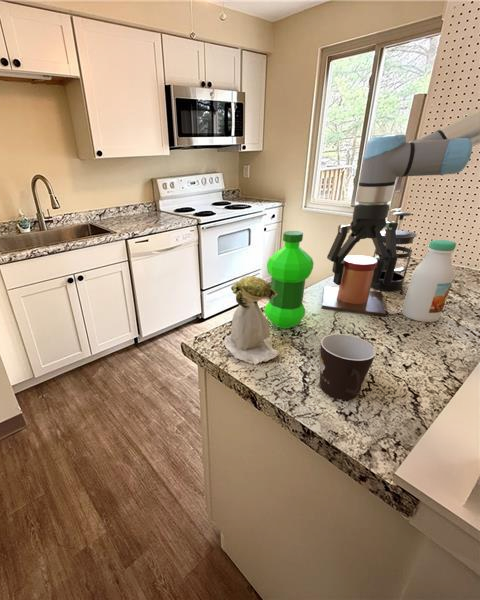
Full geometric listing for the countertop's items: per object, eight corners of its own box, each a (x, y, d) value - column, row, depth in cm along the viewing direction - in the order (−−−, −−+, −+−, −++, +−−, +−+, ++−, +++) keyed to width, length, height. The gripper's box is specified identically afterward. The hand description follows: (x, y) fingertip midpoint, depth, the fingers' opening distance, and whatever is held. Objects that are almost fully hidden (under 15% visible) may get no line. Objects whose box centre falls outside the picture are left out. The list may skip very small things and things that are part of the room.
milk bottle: (412, 323, 79) (436, 247, 70) (394, 309, 86) (414, 238, 77) (446, 322, 77) (475, 245, 69) (426, 308, 84) (449, 236, 76)
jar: (366, 294, 93) (375, 258, 88) (368, 305, 87) (377, 267, 82) (337, 291, 96) (343, 256, 91) (336, 301, 91) (343, 264, 86)
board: (380, 294, 94) (381, 291, 94) (385, 317, 83) (386, 313, 82) (324, 288, 101) (324, 286, 101) (321, 308, 90) (321, 305, 89)
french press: (366, 277, 106) (382, 209, 96) (401, 281, 101) (421, 209, 91) (366, 290, 97) (382, 216, 87) (404, 295, 92) (426, 217, 82)
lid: (336, 262, 91) (337, 256, 90) (364, 259, 91) (365, 254, 90) (352, 271, 84) (354, 265, 83) (383, 268, 83) (385, 262, 83)
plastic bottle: (276, 311, 91) (285, 226, 80) (312, 323, 83) (326, 231, 72) (255, 322, 86) (261, 234, 75) (290, 337, 78) (302, 240, 67)
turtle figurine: (228, 364, 71) (230, 292, 63) (221, 334, 82) (222, 270, 74) (282, 364, 69) (291, 289, 61) (267, 333, 81) (273, 267, 73)
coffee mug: (319, 369, 66) (326, 329, 62) (367, 384, 61) (379, 342, 57) (303, 401, 59) (310, 358, 54) (357, 422, 53) (369, 376, 49)
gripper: (408, 196, 82) (388, 275, 91) (320, 204, 84) (309, 279, 94) (430, 200, 75) (406, 285, 85) (334, 208, 78) (320, 289, 87)
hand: (355, 282), depth 89 cm, fingers open, 10 cm apart
